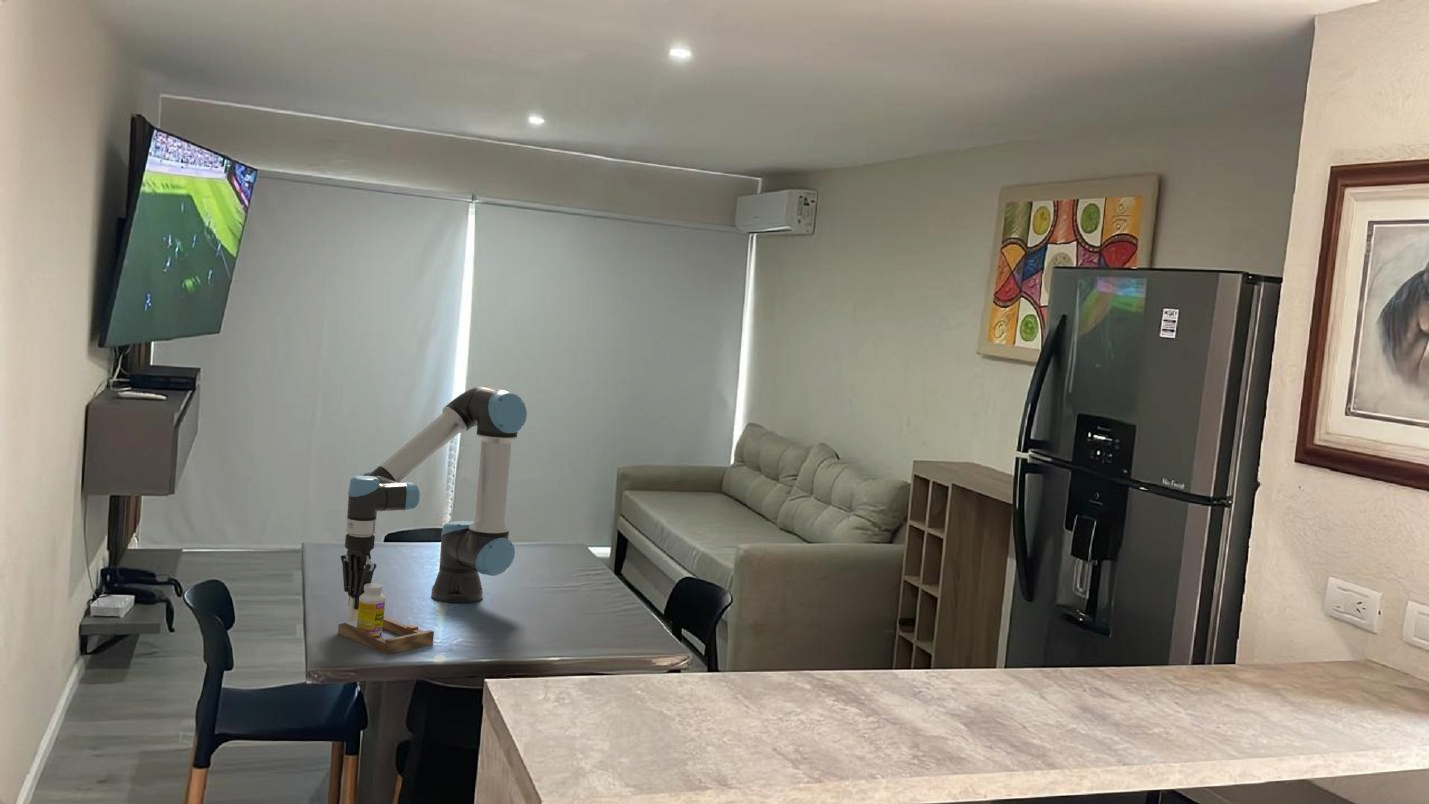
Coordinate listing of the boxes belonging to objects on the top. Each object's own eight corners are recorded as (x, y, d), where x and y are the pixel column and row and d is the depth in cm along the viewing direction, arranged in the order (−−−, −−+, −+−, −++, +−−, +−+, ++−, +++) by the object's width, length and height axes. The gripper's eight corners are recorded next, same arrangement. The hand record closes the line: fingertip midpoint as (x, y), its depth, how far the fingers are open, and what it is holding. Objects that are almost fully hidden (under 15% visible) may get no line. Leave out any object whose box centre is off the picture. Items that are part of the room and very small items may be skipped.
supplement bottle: (374, 638, 298) (378, 590, 296) (351, 633, 299) (355, 586, 298) (387, 630, 304) (390, 584, 303) (364, 626, 306) (368, 580, 304)
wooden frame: (382, 624, 310) (383, 612, 310) (433, 644, 297) (434, 631, 297) (337, 633, 298) (338, 620, 298) (387, 654, 286) (388, 641, 285)
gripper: (334, 530, 305) (327, 616, 307) (362, 540, 297) (356, 628, 299) (358, 527, 311) (351, 612, 312) (387, 537, 303) (380, 623, 305)
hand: (353, 620), depth 306 cm, fingers closed
